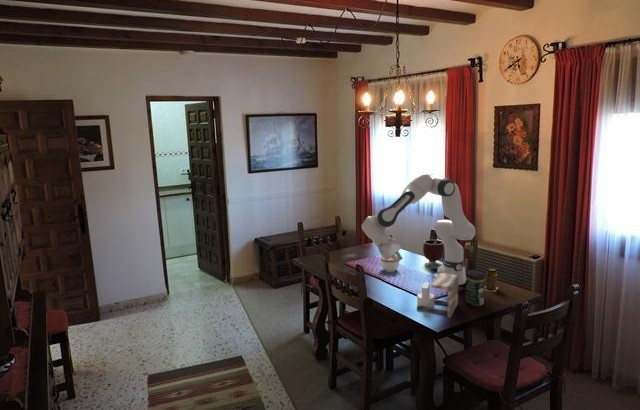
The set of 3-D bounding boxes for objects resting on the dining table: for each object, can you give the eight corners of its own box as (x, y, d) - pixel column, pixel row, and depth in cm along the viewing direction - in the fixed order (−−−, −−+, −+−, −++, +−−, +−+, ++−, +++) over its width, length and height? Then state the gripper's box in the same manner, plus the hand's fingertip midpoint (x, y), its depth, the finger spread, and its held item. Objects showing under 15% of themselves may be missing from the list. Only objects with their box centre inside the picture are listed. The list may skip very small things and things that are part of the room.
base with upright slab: (432, 310, 235) (433, 289, 233) (415, 308, 238) (416, 287, 236) (435, 303, 243) (435, 283, 241) (418, 302, 246) (418, 281, 244)
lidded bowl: (379, 273, 297) (379, 257, 295) (381, 267, 309) (381, 252, 307) (398, 273, 294) (398, 258, 292) (400, 267, 306) (400, 252, 304)
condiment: (498, 287, 263) (499, 268, 261) (495, 292, 256) (496, 272, 254) (485, 285, 267) (486, 266, 265) (482, 290, 260) (483, 270, 258)
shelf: (415, 312, 233) (415, 282, 230) (424, 298, 251) (425, 271, 248) (450, 317, 225) (451, 287, 222) (457, 303, 242) (458, 275, 239)
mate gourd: (421, 262, 315) (421, 235, 312) (440, 262, 315) (441, 235, 311) (425, 269, 300) (426, 241, 296) (446, 269, 299) (446, 240, 296)
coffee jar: (462, 302, 244) (463, 270, 241) (472, 299, 248) (473, 267, 245) (475, 308, 236) (476, 275, 233) (486, 304, 239) (487, 272, 236)
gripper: (380, 242, 235) (398, 262, 232) (392, 234, 253) (409, 252, 250) (372, 249, 238) (390, 269, 235) (385, 240, 256) (401, 258, 253)
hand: (400, 260), depth 243 cm, fingers open, 3 cm apart
